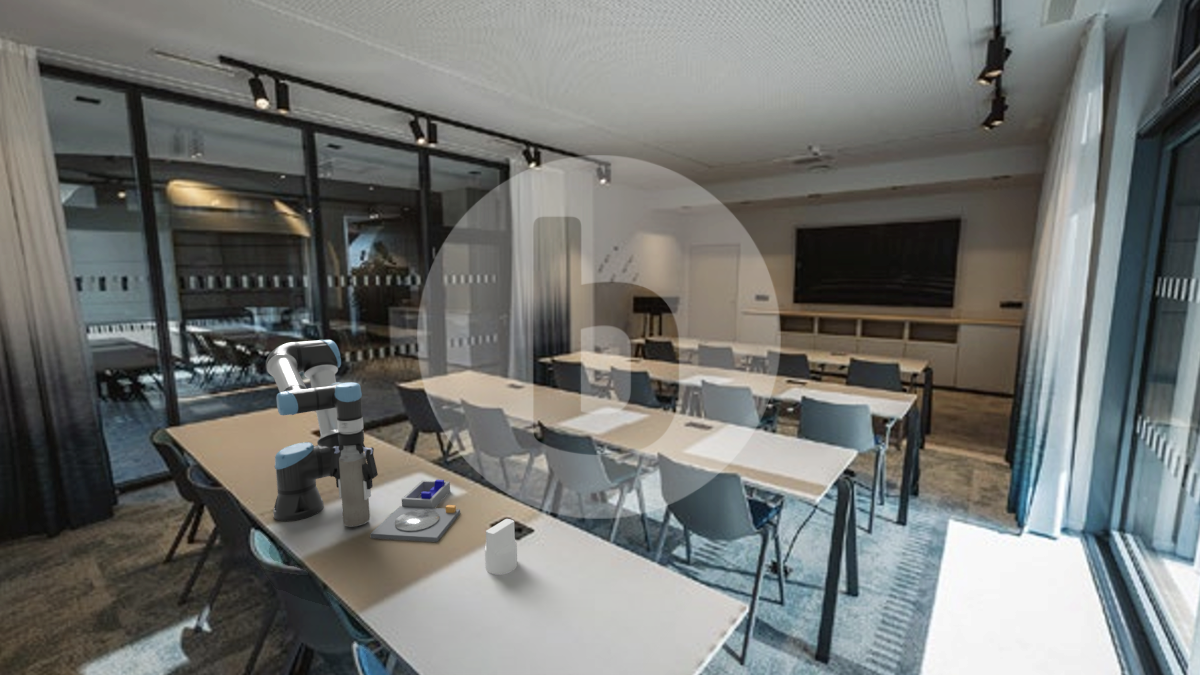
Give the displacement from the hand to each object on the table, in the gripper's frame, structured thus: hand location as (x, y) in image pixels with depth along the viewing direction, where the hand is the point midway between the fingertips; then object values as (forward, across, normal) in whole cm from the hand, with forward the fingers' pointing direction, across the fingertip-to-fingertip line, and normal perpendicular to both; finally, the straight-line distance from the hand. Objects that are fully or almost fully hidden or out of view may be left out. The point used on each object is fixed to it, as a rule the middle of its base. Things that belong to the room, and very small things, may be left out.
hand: (355, 497), depth 169 cm
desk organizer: (+10, +15, +20) cm, 27 cm away
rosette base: (+10, +20, +2) cm, 22 cm away
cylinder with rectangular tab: (+9, +55, -18) cm, 59 cm away
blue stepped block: (+10, +17, +19) cm, 28 cm away
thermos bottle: (+8, 0, 0) cm, 8 cm away
